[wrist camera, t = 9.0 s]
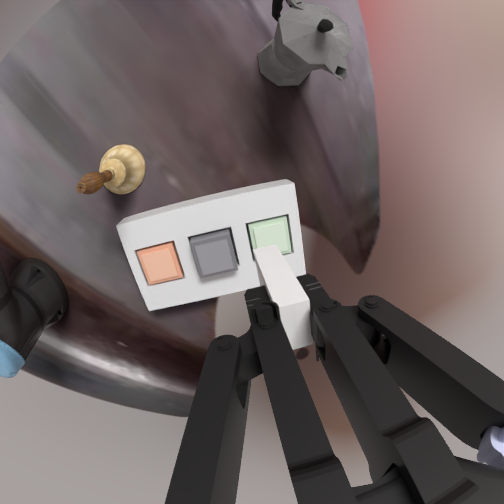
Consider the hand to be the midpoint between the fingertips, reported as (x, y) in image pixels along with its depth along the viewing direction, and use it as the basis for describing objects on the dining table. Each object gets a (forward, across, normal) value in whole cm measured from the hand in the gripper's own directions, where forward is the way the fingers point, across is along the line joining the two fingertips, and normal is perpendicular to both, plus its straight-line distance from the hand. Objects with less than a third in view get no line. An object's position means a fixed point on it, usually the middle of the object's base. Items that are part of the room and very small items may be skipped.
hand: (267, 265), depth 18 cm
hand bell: (+29, -17, +8) cm, 34 cm away
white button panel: (+28, -5, -8) cm, 30 cm away
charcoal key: (+25, -5, -8) cm, 27 cm away
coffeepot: (+29, +12, +21) cm, 37 cm away
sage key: (+27, +4, -8) cm, 28 cm away
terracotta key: (+27, -14, -8) cm, 31 cm away
